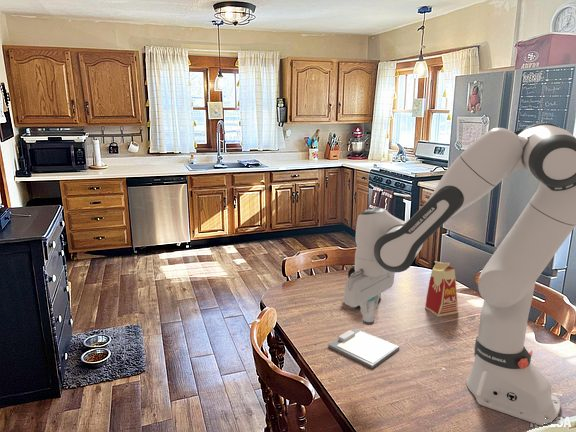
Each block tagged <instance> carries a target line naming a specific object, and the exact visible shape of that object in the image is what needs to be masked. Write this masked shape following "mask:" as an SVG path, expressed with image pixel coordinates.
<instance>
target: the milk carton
mask: <svg viewBox="0 0 576 432" xmlns="http://www.w3.org/2000/svg"><path fill="white" fill-rule="evenodd" d="M434 263H435V264H434V266H433V268H432V270H431V273H430V278H429V282H428V287H427V292H426V299H425V307H424V308H425V309H426V310H427V311H430V312H432V313H433V314H434V315H435V316H437V317H438V318H439V317H443V316H448V315H449V316H450V315H454V314H459V306H458V305H459V304H458V292H457V279H456V269H455V268H453V267H452V266H450V264H451V262H440V261H435V260H434Z"/></svg>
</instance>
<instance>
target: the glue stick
mask: <svg viewBox="0 0 576 432" xmlns="http://www.w3.org/2000/svg"><path fill="white" fill-rule="evenodd" d="M366 306H367V307H369V310H368V311H369V312H368V313H366V314H362V324H363V325H366V326H373V325H374V324H375V309H376V308H375V297H373V298H371V299H369V300H367V303H366ZM374 308H375V309H374Z"/></svg>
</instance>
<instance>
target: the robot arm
mask: <svg viewBox="0 0 576 432" xmlns="http://www.w3.org/2000/svg"><path fill="white" fill-rule="evenodd" d="M525 169H526V170H527V171H529V172H530V173H531V174H532V175H533V176H534V178H536V179H537V180H538V182H539V184H538V186H537V188H536V189H537V190H536V191H535V193H534V194H533V195H532V197H531V198H530V200H529V201H528V203H527V204H526V206H525V207H524V209H523V210H522V212H521V213H520V215H519V216H518V218H517V220H516V221H515V223H514V224H513V226H512V227H511V228H510V230H509V231H508V233H507V234H506V235H505V237H504V238H503V240H502V241H501V242H500V244H499V245H498V246H497V247H496V250H495V251H494V252H493V254H492V255H491V257H490V258H489V260H488V261H487V263H486V264H485V265H484V267H483V268H482V270H481V272H480V274H479V277H478V281H477V288H478V292H479V294H480V296H481V297H482V299H483V300H484V301H483V305H482V307H481V310H480V318H479V319H480V320H479V325H478V335H477V336H476V339H475V343H474V353H473V354H474V355H473V356H474V360H473V364H472V368H471V371H470V373H469V375H468V376H467V379H466V386H467V388H468V390H469V391H470V392H471V393H472V394H473V396H474V397H475V399H476V400H475V401H476V402H477V404H478V405H480V406H483V407H485V408H489V409H491V410H494V411H497V412H500V413H503V414H505V415H506V414H507V415H509V416H512V417H515V418H517V419H520V420H523V421H526V422H529V423H532V424H535V423H536V424H535V425H538V426H543V425H542V424H544V423H549V422H551V421H553V420H554V419H555V418H556V417H557V418H558V416H559V415H560V412H561V402H560V399H559V398H558V397H557V396H556V395H554V394H553V393H552V386H551V382H550V381H549V379H548V378H547V377H546V376H545V375H544V374H543V373H542V372H541V371H540V370H539V369H537V367H536V366H534V364H533V363H532V362H531V361H532V357H533V350H531V351H530V352H529V351H528V350H527V348H526V347H525V340H526V333H527V326H528V320H529V316H530V315H529V314H530V310H531V305H532V303H533V297H534V296H533V295H534V291H535V287H536V282H537V280H538V279H539V277H540V276H541V275H542V273H543V271H545V269H546V268H547V266H548V265H549V263H550V262H551V261H552V259H553V257H554V256H555V254H556V253H558V251H559V250H560V248H561V246H562V245H563V244H564V243H565V241H566V240H567V238H568V237H569V235H570V234H571V233H572V231H573V230H574V229H575V227H576V137H575V136H574V135H573V134H572V133H571V132H569V130H566V129H565V128H561V127H559V126H558V125H557V124H553V123H548V122H539V123H536V124H533V125H530V126H527V127H525V128H522V129H519V130H515V131H512V130H510V129H508V128H504V127H495V128H492V129H489V130H488V131H487V132H486V133H484V134H483V135H481V136H480V137H479V138H478V139H476V140H475V141H473V142H472V143H471V144H470V145H469V146H467V148H465V149H464V151H463V152H461V153H460V155H458V156H457V157H456V158H455V160H454V161H453V162H452V163H451V165H449V166H448V168H447V169H446V170H445V172H444V173H443V175H442V177H441V179H440V180H439V182H438V183H437V185H436V187H434V190H433V192H432V193H431V195H430V197H429V198H428V199H427V201H426V202H425V203H424V204H423V205H422V206H421V207H420V209H418V210H417V211H416V212H415V213H414V214H413V216H412V217H410V218H409V219H408V220H407V221H406V220H405V221H404V220H402V219H400V218H398V217H396V216H394V215H392V214H391V213H390V212H389V211H388V210H387V209H385V208H383V207H382V208H381V207H375V208H374V207H373V208H369V209H366V210H364V211H361V213H359V215H358V216H357V219H356V226H355V244H356V249H355V251H354V252H355V253H354V266H355V272H354V273H352V274H351V276H350V277H349V278H348V277H347V279H346V283H345V287H344V294H343V295H344V296H343V301H344V304H345V305H347V306H349V307H351V308H354V307H357V306H359V305H360V307H361V309H360V313H361V314H362V315H363V314H366V313H368V312H369V311H368V310H369V307H367V306H366V303H367V300H369V299H371V298H373V297H375V308H374V310H375V309H376V308H378V304H379V303H378V300H379V298H380V293H383V292H386V291H387V290H388V289H391V288H392V287H393V285H394V282H395V273H402V272H405V271H407V270H408V269H410V267H411V266H412V264H413V262H414V261H415V258H416V257H417V256H418V254H419V253H420V251H421V250H422V248H423V247H424V243H426V241H427V240H428V239H429V238H430V237H431V236H432V235H433V234H435V232H436V231H437V230H439V228H441V227H442V226H443V225H444V224H445V223H446V222H448V220H450V219H451V218H452V217H454V216H455V215H457V214H458V213H461V212H462V211H463V210H465V209H466V208H468V207H470V206H471V205H473V204H474V203H476V202H477V201H479V200H481V199H482V198H484V196H486V195H488V194H489V193H490V192H491V191H492V190H493V189H494V188H495V187H496V186H498V184H500V183H501V182H502V181H503V180H504V178H506V177H507V176H509V175H510V174H512V173H514V172H516V171H518V170H519V171H520V170H525ZM558 414H559V415H558ZM545 418H546V419H545ZM557 418H556V419H557ZM556 419H555V420H556ZM555 420H554V421H555ZM554 421H553V422H554Z"/></svg>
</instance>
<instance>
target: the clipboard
mask: <svg viewBox="0 0 576 432" xmlns="http://www.w3.org/2000/svg"><path fill="white" fill-rule="evenodd" d="M328 348H330V349H332V350H333V351H335V352H338V353H340V354H342V355H344V356H345V357H348V358H350V359H351V360H354V361H356V362H358V363H360V364H362V365H364V366H366V367H368V368H371V369H374V368H375V367H377V366H378V365H379V364H381V363H382V362H384V361H385V360H386V359H388V358H389V357H390V356H391V355H394V354H395V353H396V352H397V351H399V350H400V346H399V345H397V344H396V343H395V344H394V343H392V342H390V341H387V340H386V339H383V338H380V337H379V336H376V335H374V334H371V333H369V332H367V331H364V330H361V329H360V328H357V327H356V328H354V329H352V330H351V329H349V330H347V331H345V332H344V333H342V334H340V335H339V336H338V338H337V339H335V340H334V341H332V342H329V344H328Z"/></svg>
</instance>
